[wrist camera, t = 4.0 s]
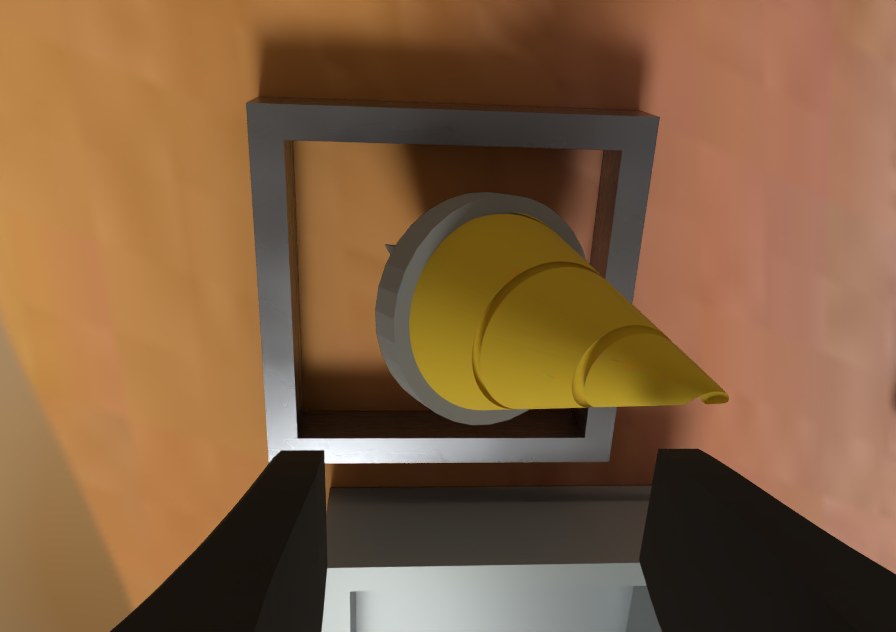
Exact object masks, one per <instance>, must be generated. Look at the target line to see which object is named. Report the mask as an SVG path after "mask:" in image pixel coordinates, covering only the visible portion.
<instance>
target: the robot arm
mask: <svg viewBox="0 0 896 632" xmlns="http://www.w3.org/2000/svg"><path fill="white" fill-rule="evenodd" d="M639 562H640V565H641V569H642V572H643V575H644V579H645V582H646V586H647V589H648V592H649V596H650V599H651V602H652V605H653V608H654V611H655V614H656V617H657V620H658V623H659V625H660V628H661V630H662V632H896V574H894V573H892V572H891V571H889V570H887V569H886V568H884V567H882V566H881V565H879V564H877V563H876V562H874V561H872V560H871V559H869V558H867V557H866V556H864V555H862V554H861V553H859V552H857V551H856V550H854V549H852V548H851V547H849V546H848V545H846V544H844V543H843V542H841V541H840V540H838V539H837V538H835V537H833V536H832V535H830V534H829V533H827V532H826V531H824V530H822V529H821V528H819V527H818V526H816V525H815V524H813V523H812V522H810V521H809V520H807V519H806V518H804V517H803V516H801V515H800V514H798V513H796V512H795V511H793V510H792V509H790V508H789V507H787V506H786V505H785V504H783V503H782V502H780V501H779V500H777V499H776V498H774V497H773V496H771V495H770V494H768V493H767V492H765V491H764V490H762V489H761V488H759V487H758V486H756V485H755V484H753V483H752V482H750V481H749V480H747V479H746V478H744V477H743V476H741V475H740V474H738V473H737V472H735V471H734V470H732V469H731V468H729V467H728V466H726V465H725V464H723V463H721V462H720V461H718V460H717V459H715V458H713V457H712V456H710V455H708V454H707V453H705V452H703V451H701V450H699V449H658V454H657V460H656V465H655V471H654V477H653V482H652V488H651V494H650V499H649V505H648V511H647V516H646V522H645V528H644V533H643V539H642V544H641V550H640V556H639ZM327 566H328V561H327V527H326V493H325V459H324V450H281V451H280V452H279V453H278V454H277V455H276V456H274V457H273V459H272V460H271V461H270V463H269V464H268V465H267V467H266V468H265V469H264V470H263V472H262V473H261V474H260V476H259V477H258V478H257V479H256V481H255V482H254V483H253V485H252V486H251V487H250V488H249V490H248V491H247V492H246V493H245V494H244V496H243V497H242V498H241V499H240V500H239V502H238V503H237V504H236V505H235V506H234V508H233V509H232V510H231V511H230V512H229V513H228V514H227V516H226V517H225V518H224V519H223V520H222V521H221V522H220V524H219V525H218V526H217V527H216V528H215V529H214V530H213V531H212V533H211V534H210V535H209V536H208V537H207V538H206V539H205V541H204V542H203V543H202V544H201V545H200V546H199V547H198V548H197V549H196V550H195V551H194V552H193V553H192V554H191V555H190V556H189V557H188V558H187V559H186V560H185V561H184V562H183V563H182V564H181V565H180V566H179V567H178V568H177V569H176V570H175V571H174V572H173V573H172V574H171V575H170V576H169V577H168V578H167V579H166V580H165V581H164V583H163V584H162V585H161V586H160V587H159V588H158V589H156V590H155V591H154V592H153V593H152V594H151V595H150V596H149V597H148V598H147V599H146V600H145V601H144V602H143V603H142V604H140V605H139V606H138V607H137V608H136V609H135V610H134V611H133V612H132V613H131V614H129V615H128V616H127V617H126V618H125V619H124V620H123V621H122V622H121V623H119V624H118V625H117V626H116V627H115V628H113V629H112V630H111V631H110V632H322V622H323V611H324V600H325V589H326V577H327Z"/></svg>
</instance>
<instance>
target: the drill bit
mask: <svg viewBox="0 0 896 632" xmlns="http://www.w3.org/2000/svg"><path fill="white" fill-rule="evenodd" d="M385 246H386V248H387V249H388V251H389V253H390V257H389V259H388V261H387V263H386V265H385V268H384V271H383V274H382V277H381V280H380V284H379V287H378V294H377V301H376V308H375V315H376V334H377V338H378V342H379V346H380V350H381V354H382V356H383V358H384V360H385V363H386V365H387V367H388V369H389V371H390V373H391V374H392V376H393V377H394V378H395V379H396V381H397V382H398V383H399V385H400V386H401V387H402V388H403V389H404V390H405V391H406V392H408V393H409V394H410V395H411V396H413V397H414V398H415V399H416V400H418V401H419V402H420V403H422V404H423V405H425V406H426V407H428V408H429V409H431V410H432V411H434V412H435V413H437V414H439V415H441V416H443V417H445V418H447V419H449V420H452V421H454V422H459V423H464V424H469V425H488V424H494V423H498V422H502V421H506V420H509V419H511V418H514V417H516V416H518V415H520V414H522V413H524V412H526V411H528V410H529V409H550V408H587V407H624V406H660V405H685V404H686V403H688V402H689V401H691V400H693V399H695V398H696V397H699V398H701V399H702V401H703V402H704V403H705V404H720V403H726V402H728V400H729V396H728V394H727V393H726V392H725V391H724V390H723V389H722V388H721V387H720V386H719V385H718V384H717V383H716V382H715V381H713V380H712V379H711V378H710V377H709V376H708V375H707V374H706V373H705V372H704V371H703V370H702V369H701V368H700V367H699V366H698V365H696V364H695V363H694V362H693V361H692V360H691V359H690V358H689V357H688V356H687V355H686V354H685V353H684V352H683V351H682V350H680V349H679V348H678V347H677V346H676V345H675V344H674V343H672V341H671V340H670V339H669V338H668V337H667V336H666V335H664V334H663V333H662V332H661V331H660V330H659V329H658V328H657V327H656V326H655V325H654V324H653V323H652V322H651V321H650V320H648V319H647V318H646V317H645V316H644V315H643V314H642V313H641V312H640V311H639V310H638V309H637V308H636V307H635V306H634V305H632V304H631V303H630V302H629V301H628V300H627V299H626V298H625V297H624V296H623V295H622V294H621V293H620V292H619V291H617V290H616V289H615V288H614V287H613V286H612V285H611V284H610V283H609V282H608V281H607V280H606V279H605V278H604V277H603V276H601V275H600V274H599V273H598V272H597V271H596V270H595V269H594V268H593V267H592V266H591V265H590V264H589V263H588V262H587V261H586V259H585V256H584V253H583V250H582V247H581V245H580V244H579V242H578V240H577V238H576V236H575V234H574V232H573V231H572V229H571V228H570V227H569V226H568V225H567V223H566V222H565V221H564V220H563V219H562V217H561V216H559V215H558V214H557V213H555V212H554V211H553V210H551V209H550V208H549V207H548V206H546V205H544V204H542V203H539V202H537V201H535V200H533V199H530V198H526V197H521V196H515V195H508V194H500V193H492V192H478V193H466V194H463V195H460V196H457V197H453V198H450V199H447V200H445V201H444V202H442V203H440V204H438V205H436V206H435V207H433V208H431V209H429V210H428V211H427V212H426V213H425V214H423V215H422V216H421V217H420V218H419V219H418V220H416V221H415V222H414V223H413V224H412V225H411V226H410V227H409V229H408V230H407V231H406V232H405V234H404V235H403V236H402V237H401V239H400V240H399V241H398V242H397V244H396V245H387V244H385Z"/></svg>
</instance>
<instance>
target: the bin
mask: <svg viewBox="0 0 896 632" xmlns="http://www.w3.org/2000/svg"><path fill="white" fill-rule="evenodd" d="M651 488H652V486H528V487H403V488H330V492H329V499H328V506H327V513H326V527H327V561H328V566H327V577H326V589H325V600H324V611H323V622H322V632H662V630H661V628H660V625H659V623H658V620H657V617H656V614H655V611H654V608H653V605H652V602H651V599H650V596H649V592H648V589H647V586H646V582H645V579H644V575H643V572H642V569H641V565H640V562H639V556H640V550H641V544H642V539H643V533H644V528H645V522H646V516H647V511H648V505H649V499H650V494H651Z"/></svg>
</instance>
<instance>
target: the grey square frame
mask: <svg viewBox="0 0 896 632" xmlns="http://www.w3.org/2000/svg"><path fill="white" fill-rule="evenodd" d="M246 109H247V125H248V141H249V156H250V172H251V188H252V203H253V219H254V235H255V250H256V266H257V281H258V297H259V313H260V328H261V344H262V360H263V375H264V391H265V407H266V422H267V438H268V453H269V463H270V461H271V460H272V459H273V457H274V456H276V455H277V454H278V453H279V452H280V451H281V450H324V459H325V463H492V462H609V458H610V451H611V444H612V437H613V431H614V424H615V417H616V410H617V407H587V408H573V410H572V411H526V412H524V413H522V414H520V415H518V416H516V417H514V418H511V419H509V420H506V421H502V422H498V423H494V424H488V425H469V424H464V423H459V422H454V421H452V420H449V419H447V418H445V417H443V416H441V415H439V414H437V413H435V412H434V411H304V402H303V377H302V353H301V328H300V304H299V279H298V255H297V231H296V206H295V182H294V157H293V140H301V141H334V142H366V143H399V144H431V145H464V146H496V147H529V148H561V149H594V150H604V154H603V162H602V170H601V179H600V187H599V195H598V203H597V212H596V220H595V228H594V237H593V245H592V253H591V261H590V265H591V266H592V267H593V268H594V269H595V270H596V271H597V272H598V273H599V274H600V275H601V276H603V277H604V278H605V279H606V280H607V281H608V282H609V283H610V284H611V285H612V286H613V287H614V288H615V289H616V290H617V291H619V292H620V293H621V294H622V295H623V296H624V297H625V298H626V299H627V300H628V301H629V302H630V303H631V304H632V302H633V295H634V288H635V282H636V275H637V268H638V261H639V254H640V248H641V241H642V234H643V227H644V221H645V214H646V207H647V200H648V193H649V187H650V180H651V173H652V166H653V160H654V153H655V146H656V139H657V132H658V126H659V119H660V117H658V116H655V115H652V114H649V113H646V112H643V111H640V110H614V109H586V108H558V107H530V106H501V105H473V104H445V103H417V102H388V101H360V100H332V99H304V98H276V97H257V98H255V99H253V100H251V101H249V102H247V103H246Z"/></svg>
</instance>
